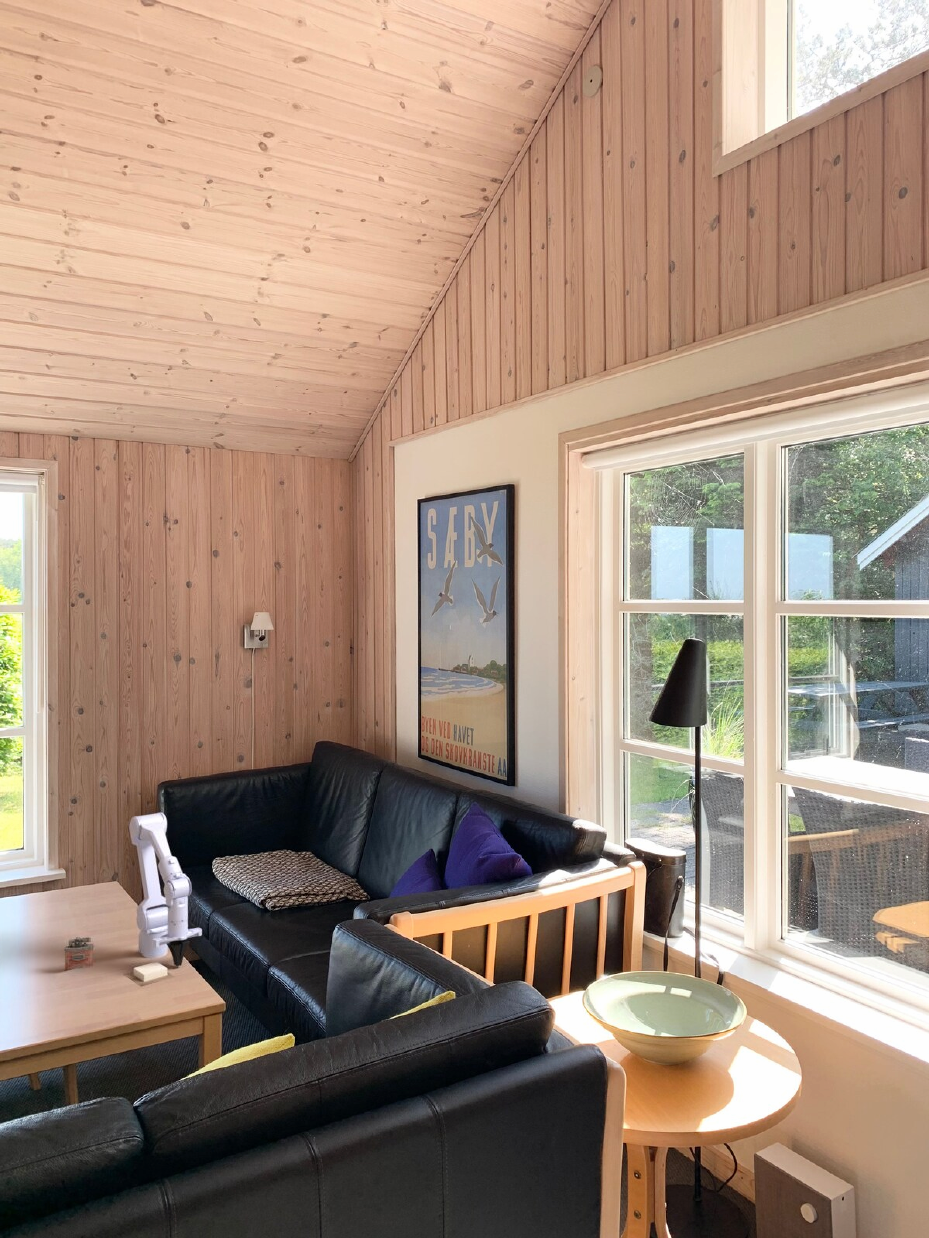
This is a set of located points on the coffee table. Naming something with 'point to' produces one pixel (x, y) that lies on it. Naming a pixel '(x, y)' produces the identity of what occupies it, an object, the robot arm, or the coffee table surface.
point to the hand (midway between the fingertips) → (177, 964)
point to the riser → (142, 983)
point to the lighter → (78, 953)
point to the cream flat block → (150, 971)
